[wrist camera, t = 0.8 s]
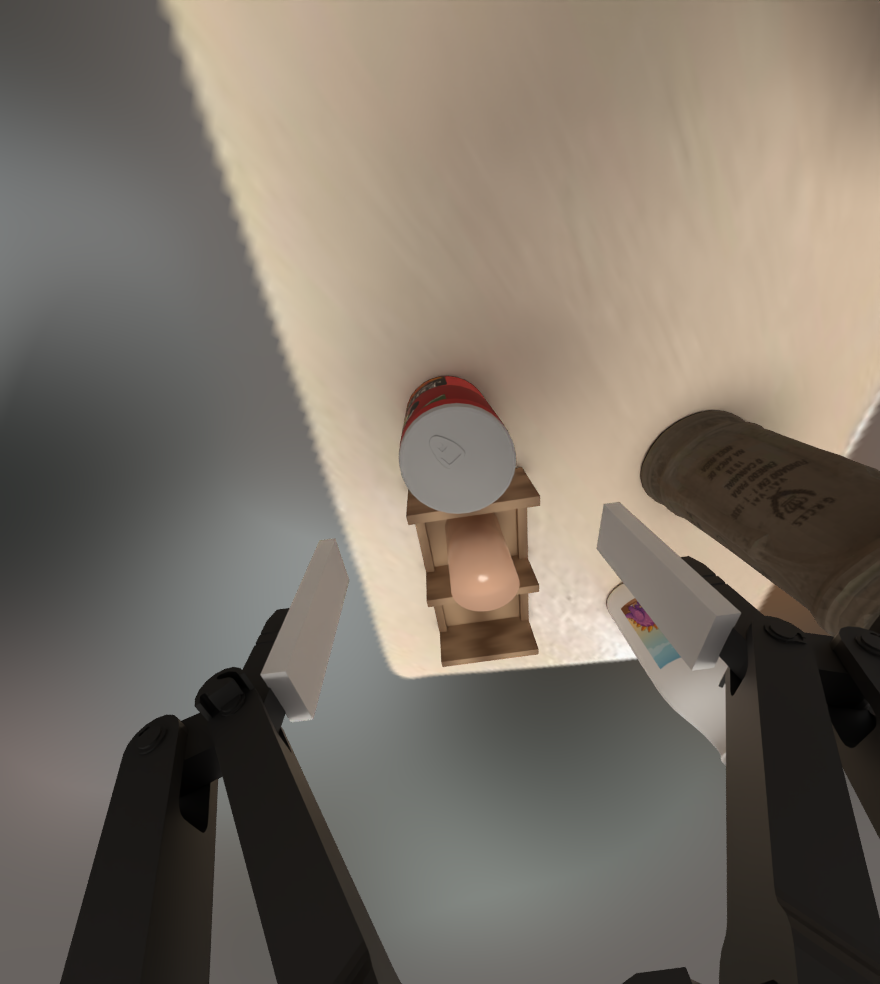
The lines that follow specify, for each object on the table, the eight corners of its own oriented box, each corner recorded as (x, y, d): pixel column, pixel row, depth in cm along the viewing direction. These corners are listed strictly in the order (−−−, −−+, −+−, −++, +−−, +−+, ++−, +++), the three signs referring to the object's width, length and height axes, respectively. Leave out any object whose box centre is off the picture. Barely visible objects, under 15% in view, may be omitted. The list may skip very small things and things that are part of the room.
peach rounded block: (496, 500, 34) (518, 556, 26) (499, 544, 37) (520, 606, 29) (441, 508, 34) (446, 567, 26) (448, 551, 37) (455, 615, 29)
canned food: (428, 357, 28) (431, 381, 18) (504, 401, 30) (542, 443, 20) (392, 432, 31) (378, 486, 21) (462, 467, 33) (478, 530, 24)
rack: (521, 467, 33) (540, 496, 28) (524, 614, 45) (538, 654, 39) (408, 484, 34) (406, 516, 29) (440, 625, 45) (442, 666, 40)
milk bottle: (651, 614, 46) (789, 798, 29) (599, 616, 46) (706, 803, 28) (670, 574, 42) (842, 758, 25) (613, 577, 42) (747, 764, 25)
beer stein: (613, 480, 35) (819, 656, 18) (688, 388, 30) (1064, 505, 13) (705, 520, 39) (937, 690, 22) (782, 446, 35) (1149, 588, 18)
